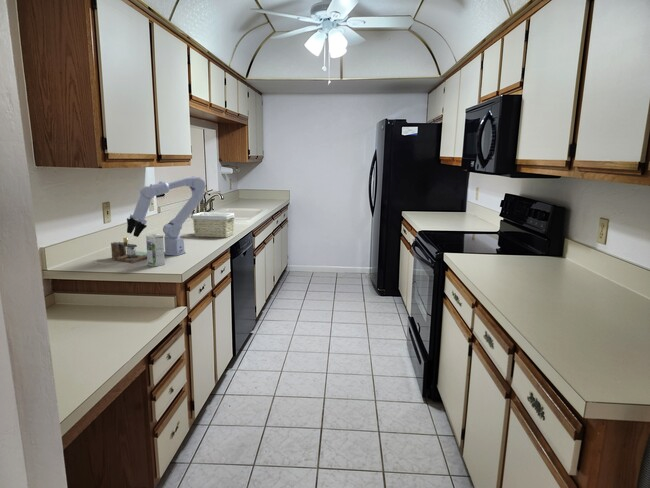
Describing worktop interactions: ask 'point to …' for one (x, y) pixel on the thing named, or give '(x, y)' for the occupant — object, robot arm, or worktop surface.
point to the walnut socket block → (124, 254)
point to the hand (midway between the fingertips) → (132, 234)
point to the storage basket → (213, 224)
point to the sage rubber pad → (141, 253)
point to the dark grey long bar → (125, 243)
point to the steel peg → (131, 252)
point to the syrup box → (155, 250)
